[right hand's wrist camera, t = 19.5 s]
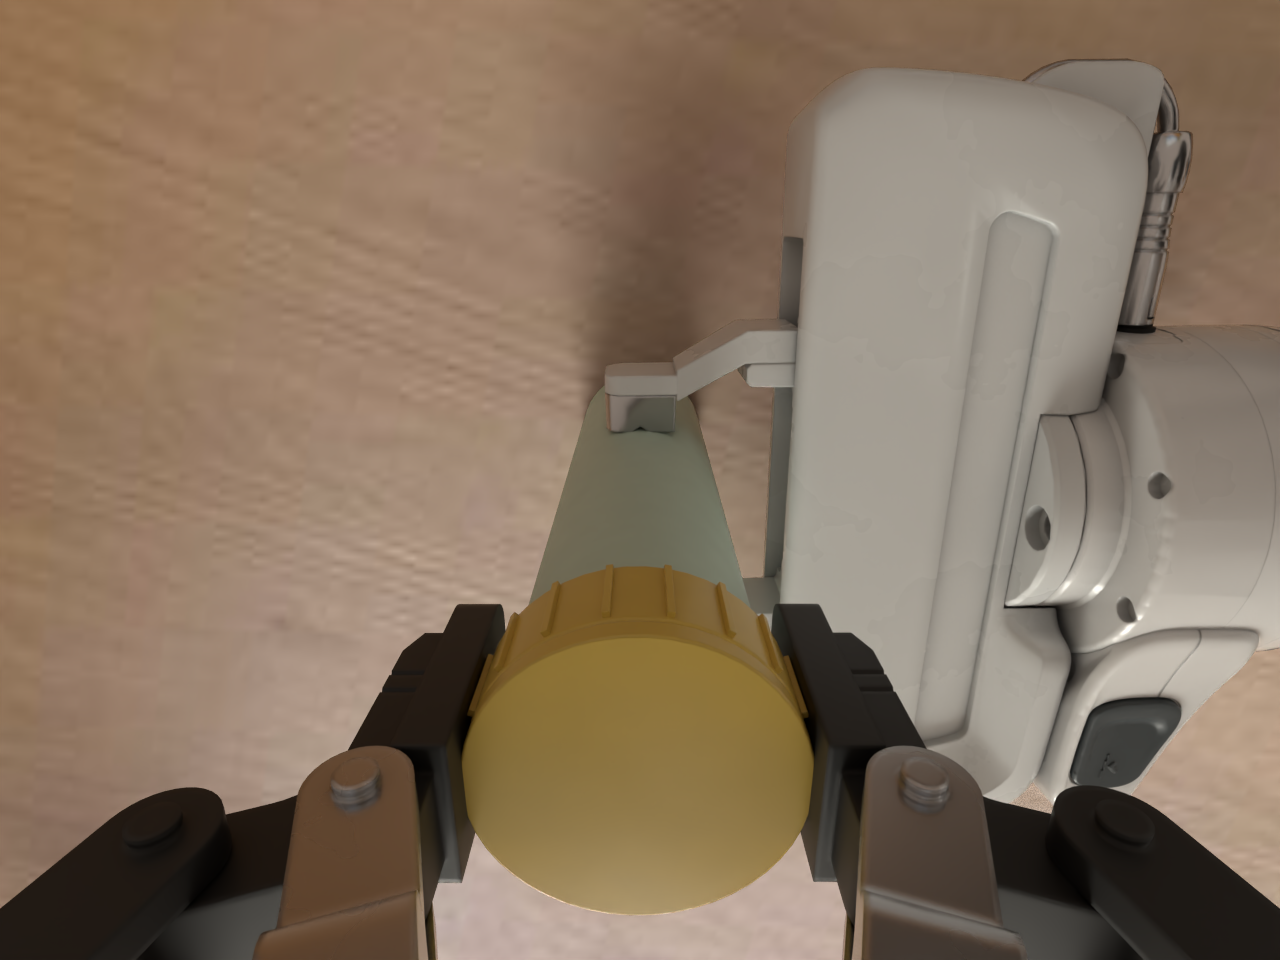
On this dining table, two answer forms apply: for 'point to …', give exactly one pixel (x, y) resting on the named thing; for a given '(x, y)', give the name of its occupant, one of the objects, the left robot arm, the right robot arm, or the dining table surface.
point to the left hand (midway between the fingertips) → (608, 496)
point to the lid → (637, 744)
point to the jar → (640, 505)
